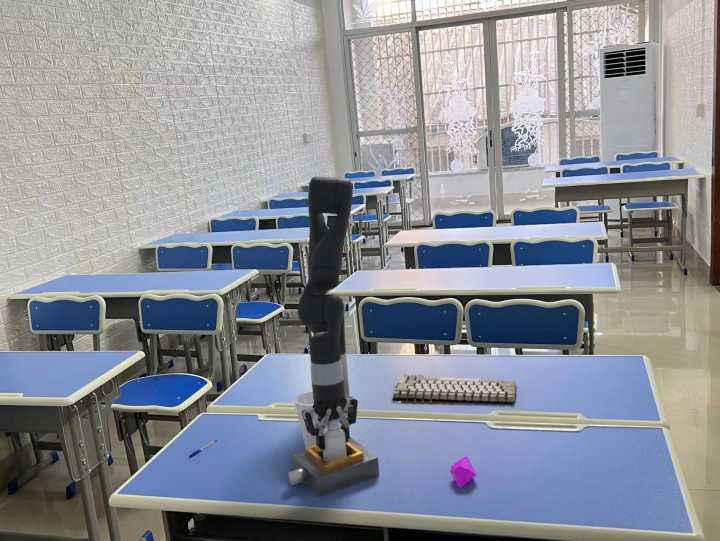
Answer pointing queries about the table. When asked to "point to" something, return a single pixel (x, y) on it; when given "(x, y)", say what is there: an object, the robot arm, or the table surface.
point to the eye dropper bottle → (334, 442)
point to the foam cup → (302, 404)
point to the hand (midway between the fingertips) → (333, 445)
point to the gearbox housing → (333, 468)
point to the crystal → (462, 471)
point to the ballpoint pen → (201, 449)
